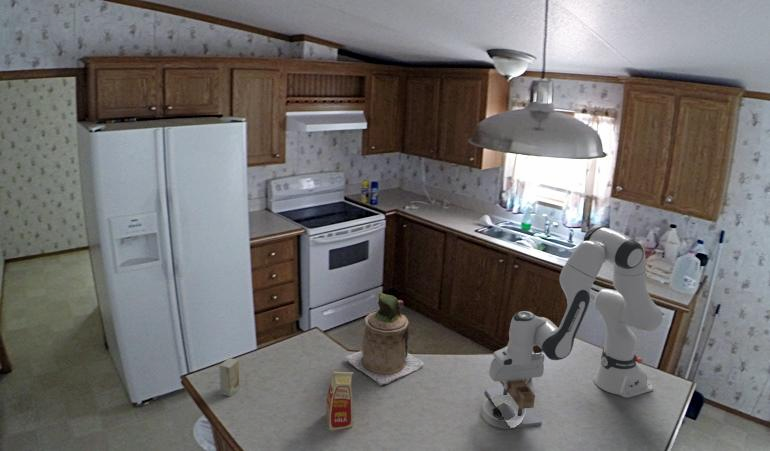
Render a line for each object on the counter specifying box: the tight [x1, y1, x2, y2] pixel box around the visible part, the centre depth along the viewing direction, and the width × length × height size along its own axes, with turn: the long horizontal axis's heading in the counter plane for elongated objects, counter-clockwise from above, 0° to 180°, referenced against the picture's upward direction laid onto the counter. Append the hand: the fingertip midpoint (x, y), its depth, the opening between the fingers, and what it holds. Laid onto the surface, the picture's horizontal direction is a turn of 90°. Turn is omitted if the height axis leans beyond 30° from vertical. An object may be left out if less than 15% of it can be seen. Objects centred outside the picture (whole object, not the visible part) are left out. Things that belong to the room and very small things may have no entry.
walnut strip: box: [499, 379, 536, 409], centre depth 198 cm, size 20×5×5 cm, turn 14°
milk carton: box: [325, 371, 355, 431], centre depth 187 cm, size 9×9×20 cm
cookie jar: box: [344, 292, 425, 387], centre depth 221 cm, size 25×25×32 cm
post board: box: [484, 386, 542, 429], centre depth 200 cm, size 12×22×7 cm, turn 13°
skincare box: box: [219, 357, 240, 397], centre depth 201 cm, size 6×4×12 cm
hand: (514, 387), depth 199 cm, fingers closed on walnut strip, 5 cm apart
